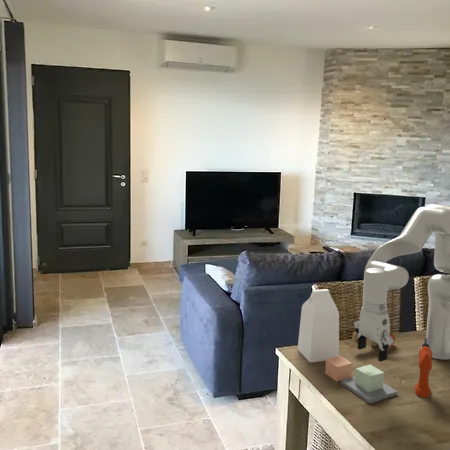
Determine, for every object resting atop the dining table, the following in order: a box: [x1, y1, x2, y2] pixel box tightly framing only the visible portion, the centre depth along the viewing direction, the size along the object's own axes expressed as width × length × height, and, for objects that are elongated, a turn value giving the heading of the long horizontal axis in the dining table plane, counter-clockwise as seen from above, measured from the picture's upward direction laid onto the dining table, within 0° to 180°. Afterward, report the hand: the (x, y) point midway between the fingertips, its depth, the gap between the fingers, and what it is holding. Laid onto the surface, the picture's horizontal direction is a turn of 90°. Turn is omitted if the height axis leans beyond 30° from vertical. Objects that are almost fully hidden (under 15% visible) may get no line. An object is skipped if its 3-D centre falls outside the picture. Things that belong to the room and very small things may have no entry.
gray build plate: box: [340, 376, 398, 404], centre depth 168 cm, size 12×14×1 cm
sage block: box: [354, 364, 385, 392], centre depth 167 cm, size 6×6×6 cm
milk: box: [297, 288, 340, 363], centre depth 191 cm, size 12×12×26 cm
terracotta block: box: [324, 355, 353, 382], centre depth 177 cm, size 6×6×6 cm
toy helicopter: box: [351, 312, 396, 347], centre depth 200 cm, size 8×21×14 cm, turn 122°
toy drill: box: [414, 337, 433, 398], centre depth 170 cm, size 5×19×15 cm, turn 159°
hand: (371, 354), depth 166 cm, fingers open, 9 cm apart
